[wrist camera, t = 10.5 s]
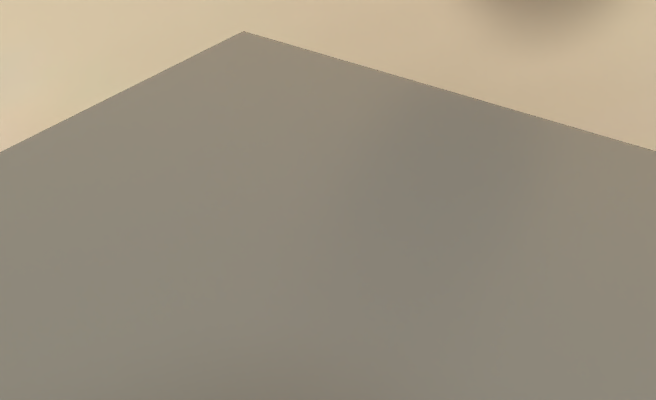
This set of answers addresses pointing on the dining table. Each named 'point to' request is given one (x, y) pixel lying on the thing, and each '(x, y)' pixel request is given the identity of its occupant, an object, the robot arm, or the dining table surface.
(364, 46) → the dining table surface
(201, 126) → the matte grey cube
